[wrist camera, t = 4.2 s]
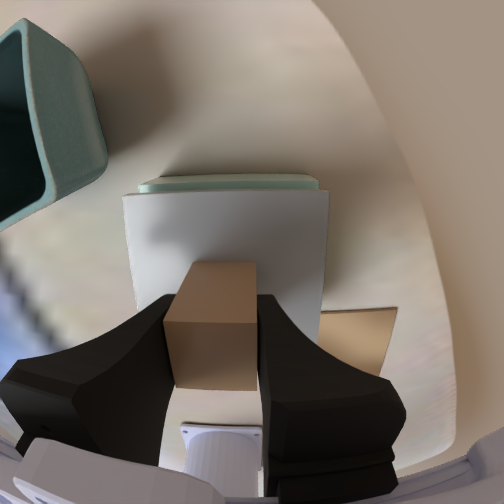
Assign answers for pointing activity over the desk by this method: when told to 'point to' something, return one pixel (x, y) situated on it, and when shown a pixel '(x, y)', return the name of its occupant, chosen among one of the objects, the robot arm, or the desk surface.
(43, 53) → the flower pot
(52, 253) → the desk surface
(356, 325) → the mat
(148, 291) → the lid
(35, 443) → the robot arm
